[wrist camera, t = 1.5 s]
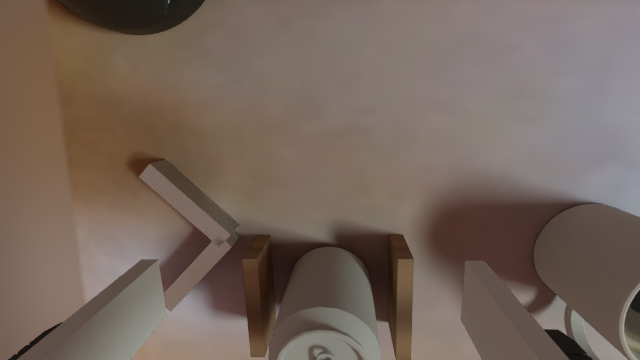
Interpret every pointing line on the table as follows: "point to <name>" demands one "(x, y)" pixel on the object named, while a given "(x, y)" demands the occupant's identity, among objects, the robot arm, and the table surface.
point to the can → (327, 310)
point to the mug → (595, 273)
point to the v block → (200, 215)
